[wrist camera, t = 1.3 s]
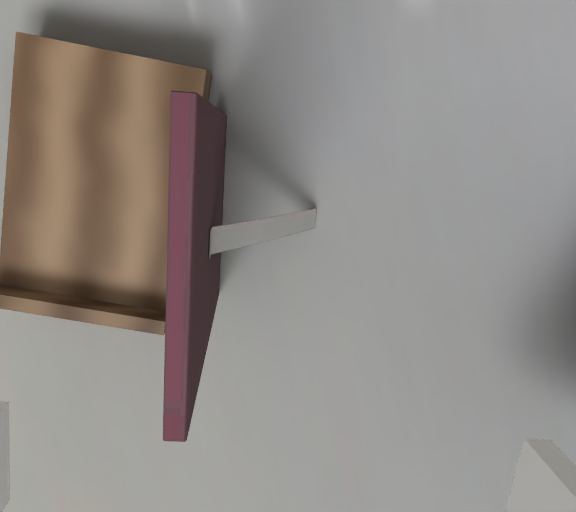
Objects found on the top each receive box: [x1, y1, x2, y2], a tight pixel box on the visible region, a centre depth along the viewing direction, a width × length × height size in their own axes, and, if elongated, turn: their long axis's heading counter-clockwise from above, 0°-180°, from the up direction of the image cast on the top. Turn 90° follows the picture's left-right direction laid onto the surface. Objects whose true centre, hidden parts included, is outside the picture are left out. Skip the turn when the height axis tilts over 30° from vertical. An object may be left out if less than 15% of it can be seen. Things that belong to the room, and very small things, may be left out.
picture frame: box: [163, 90, 317, 442], centre depth 36 cm, size 17×10×25 cm, turn 176°
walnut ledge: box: [0, 32, 212, 335], centre depth 44 cm, size 15×22×6 cm
